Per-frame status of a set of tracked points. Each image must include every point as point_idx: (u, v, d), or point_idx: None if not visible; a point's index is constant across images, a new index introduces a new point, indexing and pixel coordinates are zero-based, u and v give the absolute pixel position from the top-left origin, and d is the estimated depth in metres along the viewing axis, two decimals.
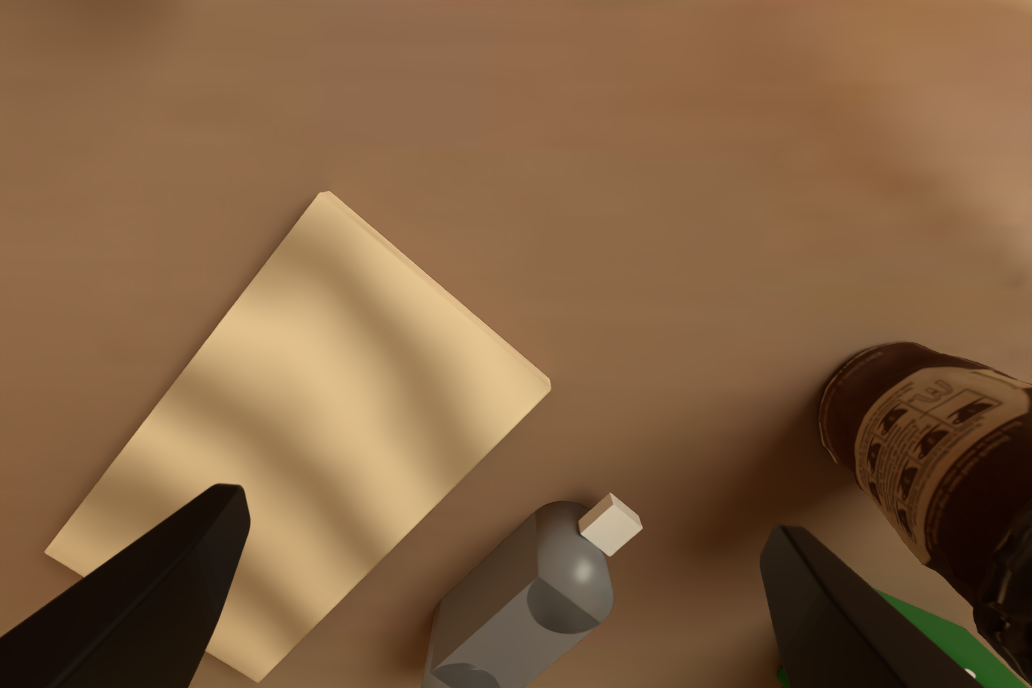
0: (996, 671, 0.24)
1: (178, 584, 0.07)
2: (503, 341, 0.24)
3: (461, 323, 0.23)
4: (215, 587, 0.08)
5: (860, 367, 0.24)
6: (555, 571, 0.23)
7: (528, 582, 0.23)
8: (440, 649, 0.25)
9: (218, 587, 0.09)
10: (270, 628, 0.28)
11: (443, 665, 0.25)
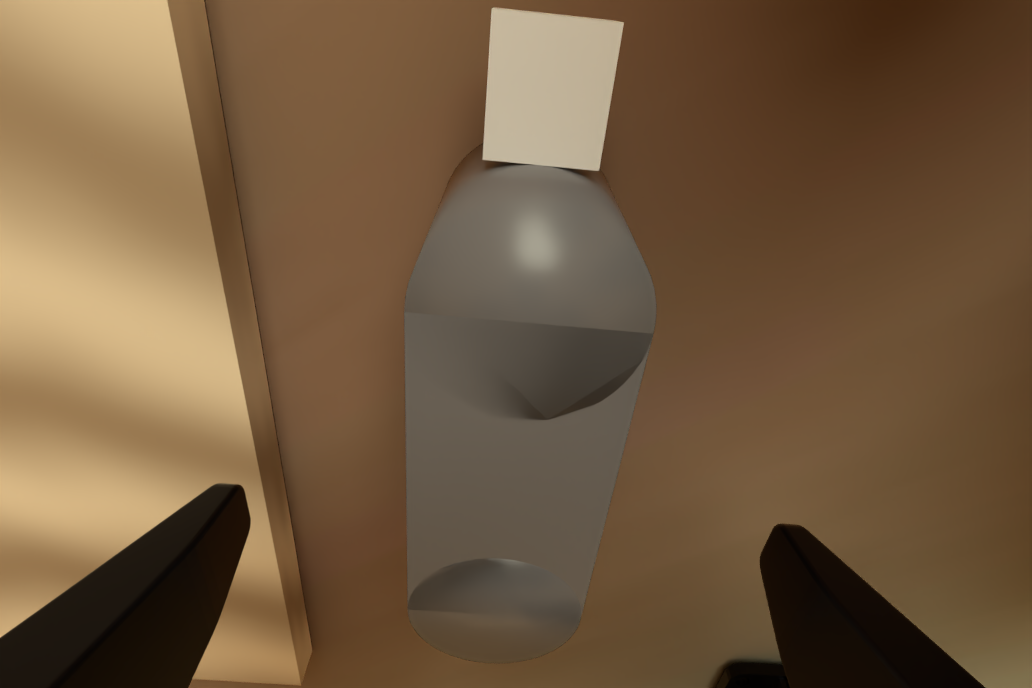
0: None
1: (178, 584, 0.07)
2: None
3: None
4: (215, 587, 0.08)
5: None
6: (430, 273, 0.08)
7: None
8: None
9: (218, 587, 0.09)
10: (238, 623, 0.17)
11: (415, 586, 0.11)
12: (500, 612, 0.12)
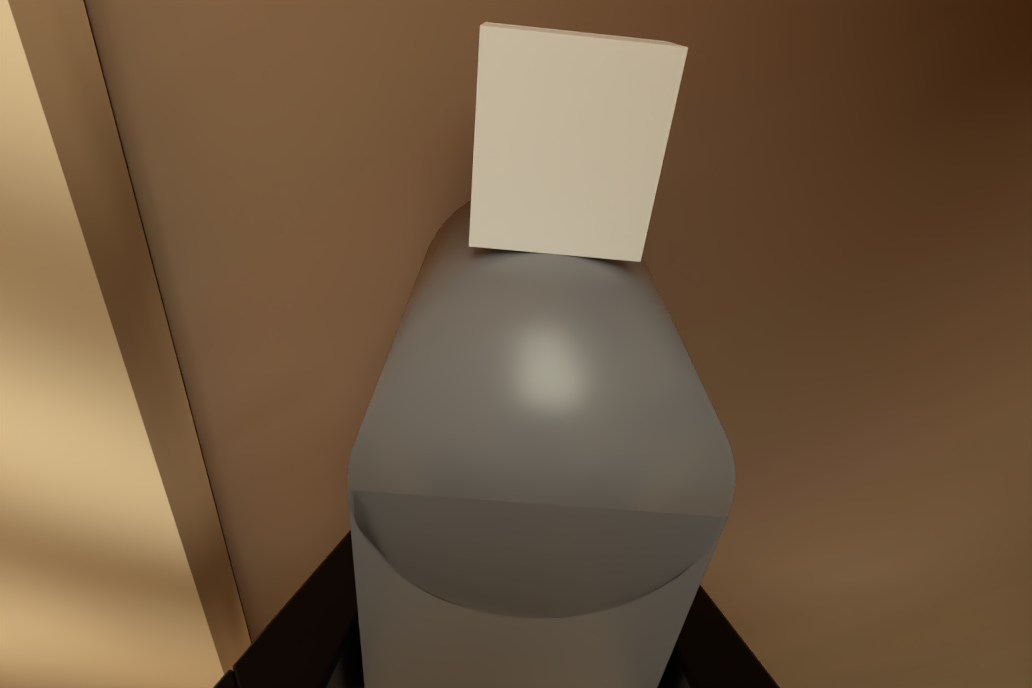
0: None
1: None
2: None
3: None
4: None
5: None
6: (383, 441, 0.05)
7: None
8: None
9: None
10: None
11: None
12: None
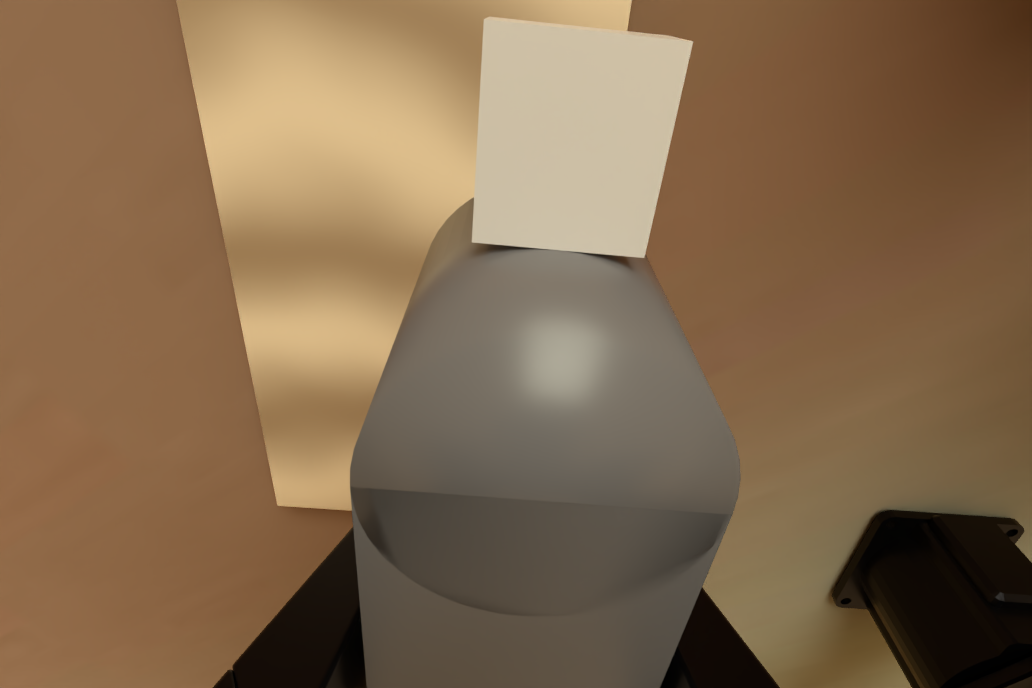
0: None
1: None
2: None
3: None
4: None
5: None
6: (386, 437, 0.05)
7: None
8: None
9: None
10: None
11: None
12: None
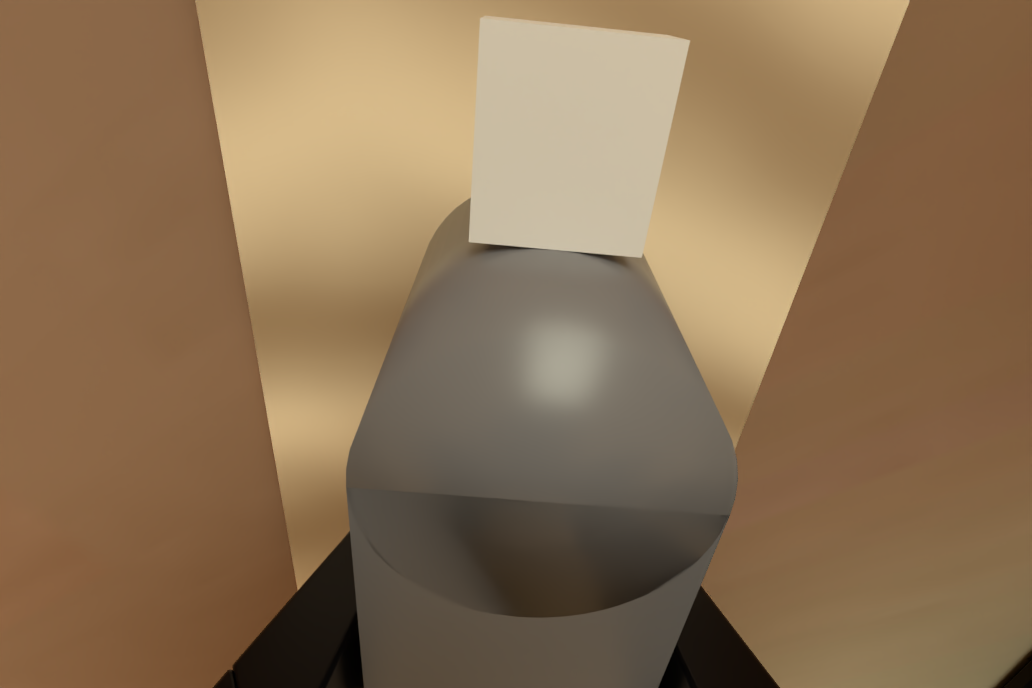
0: None
1: None
2: None
3: None
4: None
5: None
6: (382, 438, 0.05)
7: None
8: None
9: None
10: None
11: None
12: None
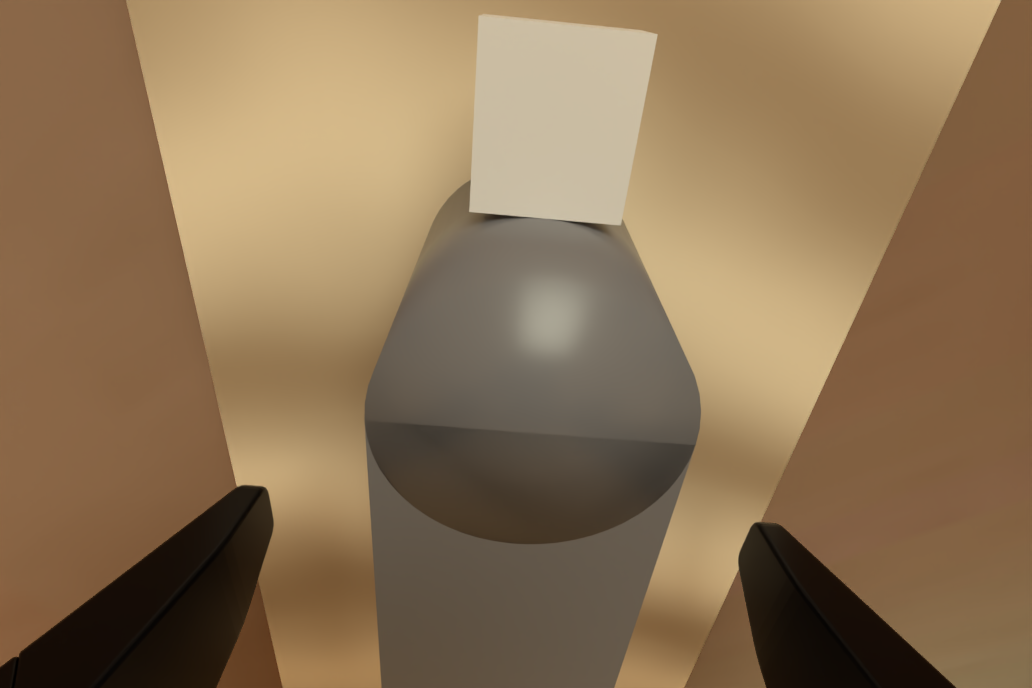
0: None
1: (207, 586, 0.08)
2: None
3: None
4: (241, 589, 0.08)
5: None
6: (396, 374, 0.06)
7: None
8: None
9: (243, 589, 0.09)
10: (646, 648, 0.16)
11: None
12: None
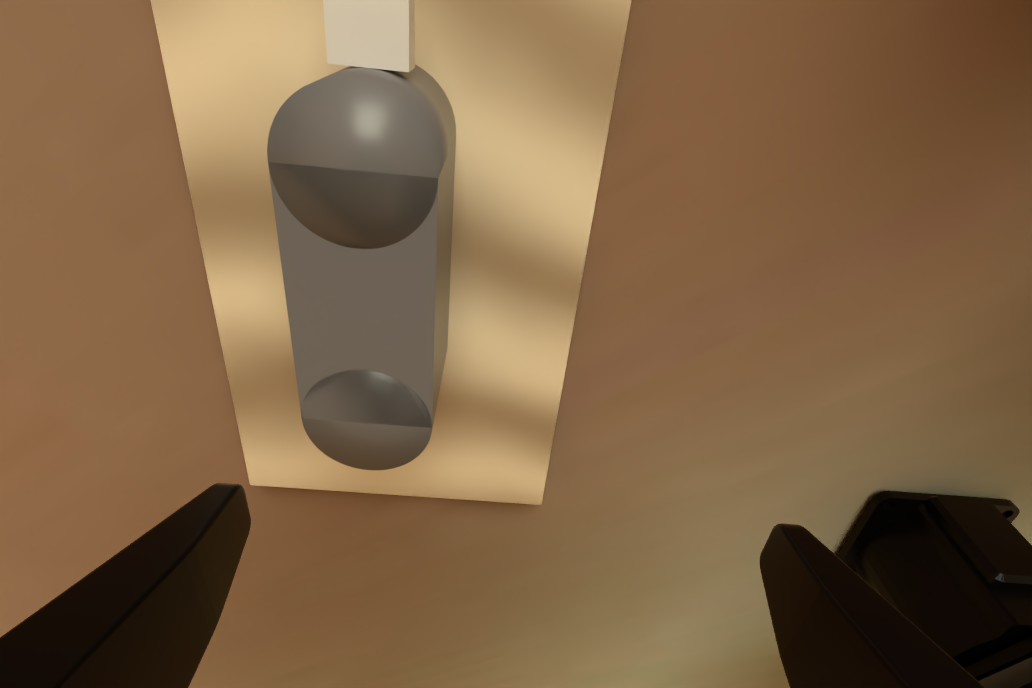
0: None
1: (179, 584, 0.07)
2: None
3: None
4: (215, 587, 0.08)
5: None
6: (281, 132, 0.12)
7: (273, 187, 0.12)
8: None
9: (219, 587, 0.09)
10: (512, 441, 0.22)
11: (304, 396, 0.15)
12: (371, 420, 0.16)
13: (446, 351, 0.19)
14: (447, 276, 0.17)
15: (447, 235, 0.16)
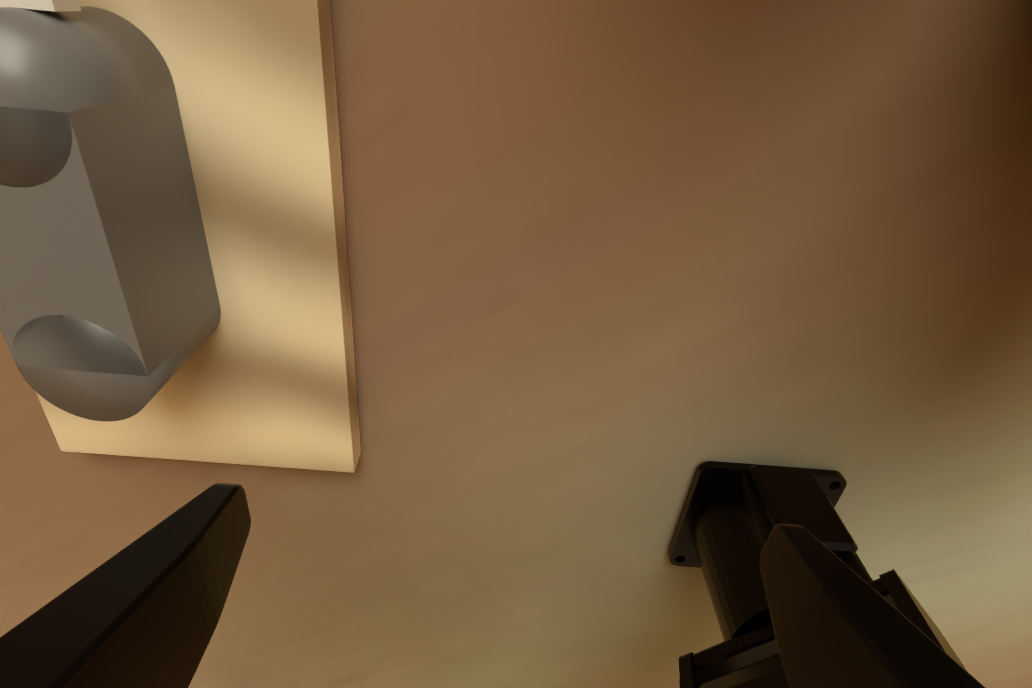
0: None
1: (178, 584, 0.07)
2: None
3: None
4: (215, 587, 0.08)
5: None
6: None
7: None
8: None
9: (218, 587, 0.09)
10: (309, 405, 0.22)
11: (12, 343, 0.15)
12: (86, 368, 0.16)
13: (216, 310, 0.20)
14: (184, 230, 0.17)
15: (163, 185, 0.16)
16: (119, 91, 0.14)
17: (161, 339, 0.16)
